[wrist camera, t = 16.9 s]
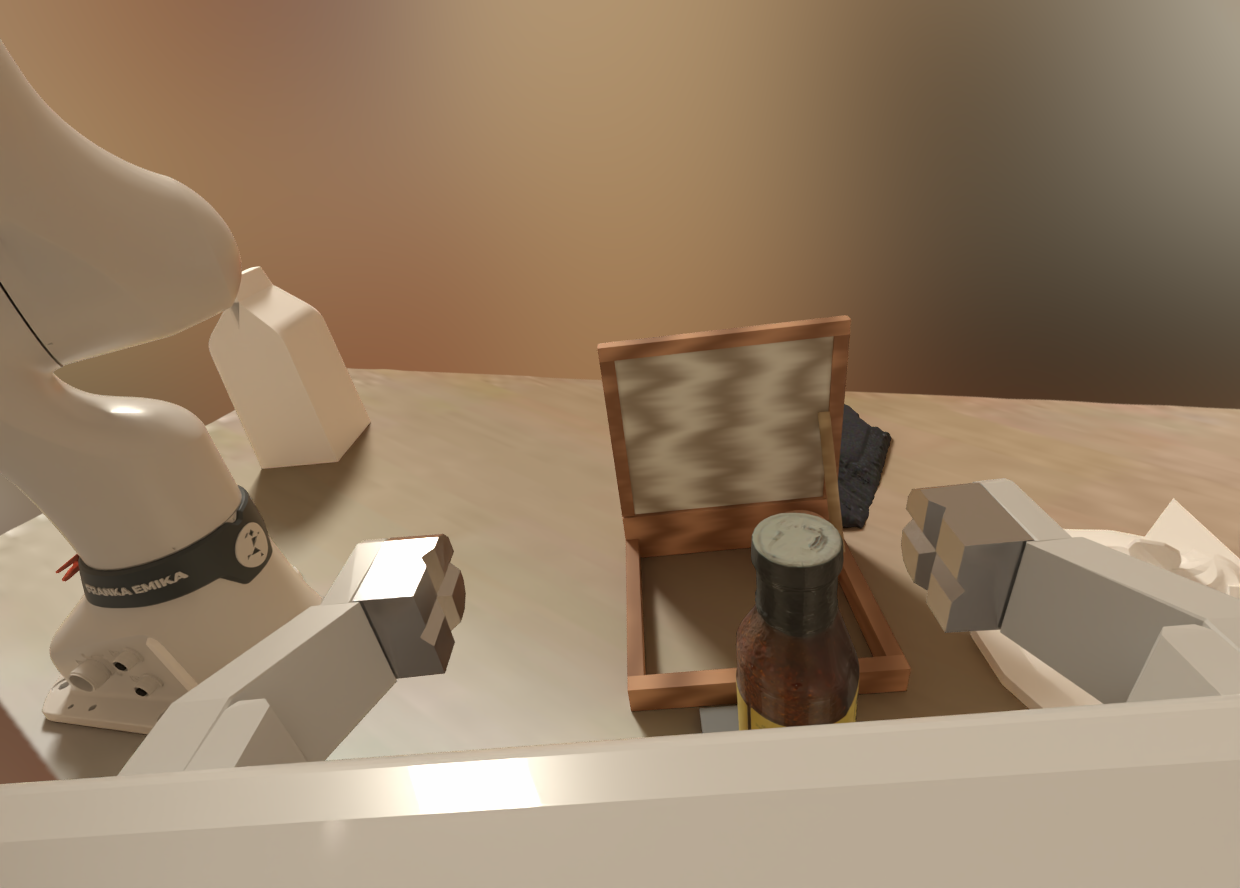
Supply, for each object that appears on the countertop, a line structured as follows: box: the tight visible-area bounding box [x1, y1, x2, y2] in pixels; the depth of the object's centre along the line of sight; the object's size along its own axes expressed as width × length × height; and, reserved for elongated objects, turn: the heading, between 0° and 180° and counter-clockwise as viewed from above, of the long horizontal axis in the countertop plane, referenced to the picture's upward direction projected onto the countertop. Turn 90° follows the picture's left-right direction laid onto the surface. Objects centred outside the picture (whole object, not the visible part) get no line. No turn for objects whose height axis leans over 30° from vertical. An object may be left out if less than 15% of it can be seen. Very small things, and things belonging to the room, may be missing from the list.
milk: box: [209, 267, 371, 469], centre depth 82 cm, size 12×12×26 cm
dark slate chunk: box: [838, 404, 891, 528], centre depth 67 cm, size 15×22×5 cm
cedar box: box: [598, 315, 911, 711], centre depth 45 cm, size 20×18×22 cm
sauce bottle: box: [736, 513, 859, 731], centre depth 31 cm, size 6×6×20 cm
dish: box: [970, 498, 1240, 709], centre depth 40 cm, size 25×25×11 cm
